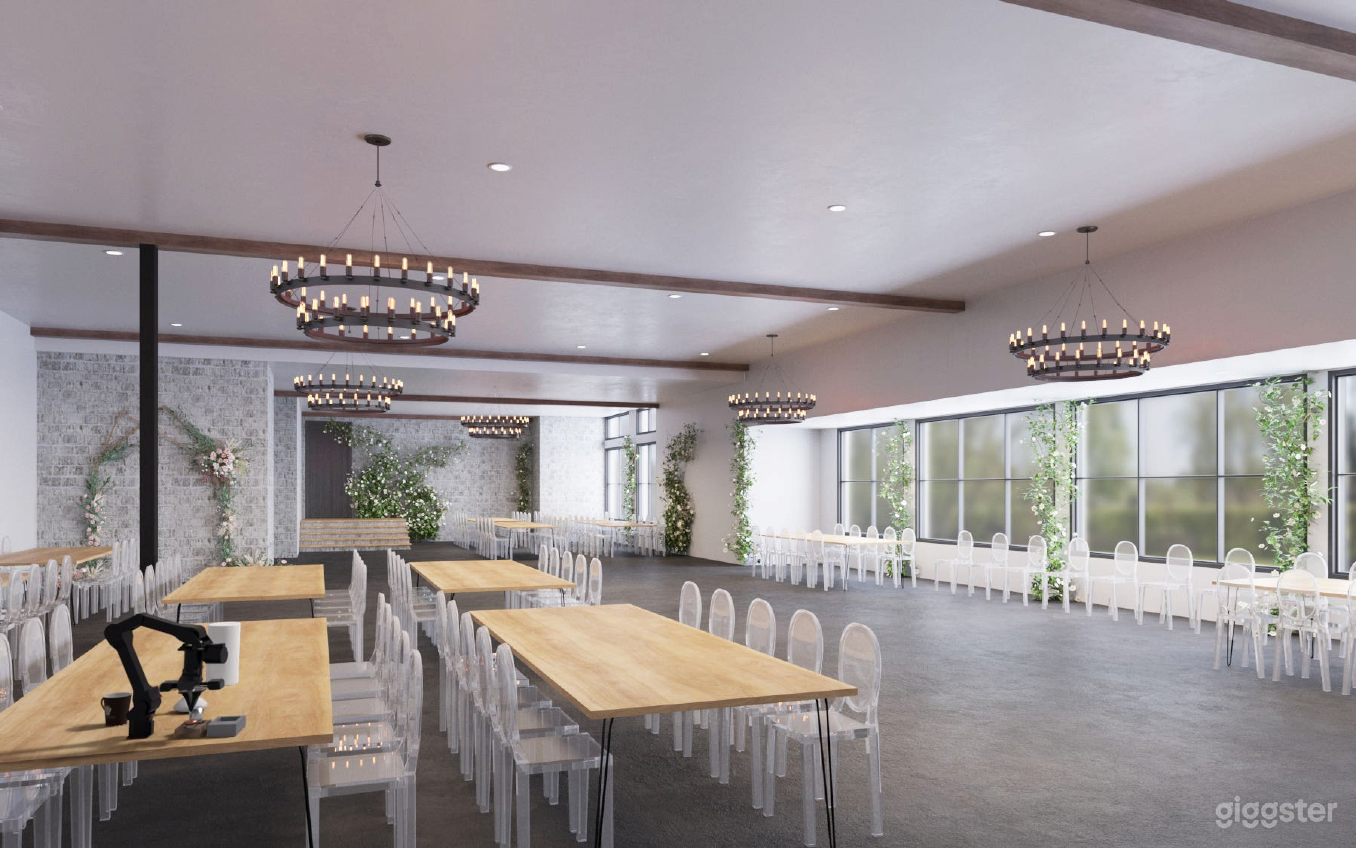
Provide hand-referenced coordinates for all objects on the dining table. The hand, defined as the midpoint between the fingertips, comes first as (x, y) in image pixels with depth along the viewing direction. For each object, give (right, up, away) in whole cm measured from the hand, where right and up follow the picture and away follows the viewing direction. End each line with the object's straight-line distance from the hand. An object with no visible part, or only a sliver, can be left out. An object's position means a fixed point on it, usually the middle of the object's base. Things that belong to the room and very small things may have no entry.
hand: (191, 711), depth 308 cm
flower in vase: (-18, -11, +35) cm, 41 cm away
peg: (-1, -8, +5) cm, 10 cm away
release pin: (0, -7, -1) cm, 7 cm away
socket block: (-1, -8, +3) cm, 9 cm away
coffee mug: (-35, -9, +16) cm, 39 cm away
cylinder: (-30, -14, +82) cm, 89 cm away
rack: (+9, -9, +5) cm, 14 cm away
